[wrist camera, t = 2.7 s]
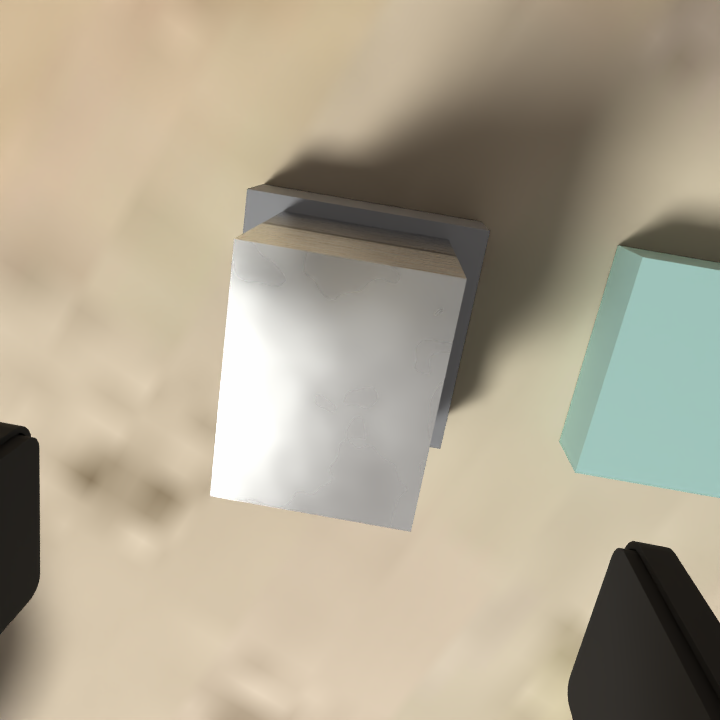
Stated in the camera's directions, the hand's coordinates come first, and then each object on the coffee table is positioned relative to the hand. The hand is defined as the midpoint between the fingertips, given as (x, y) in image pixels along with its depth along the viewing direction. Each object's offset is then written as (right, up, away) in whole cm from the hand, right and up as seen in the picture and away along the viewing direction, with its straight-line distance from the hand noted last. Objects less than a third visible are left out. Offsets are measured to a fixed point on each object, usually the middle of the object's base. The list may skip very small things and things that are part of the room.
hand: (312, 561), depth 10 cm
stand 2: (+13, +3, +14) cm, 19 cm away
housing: (0, +4, +12) cm, 12 cm away
